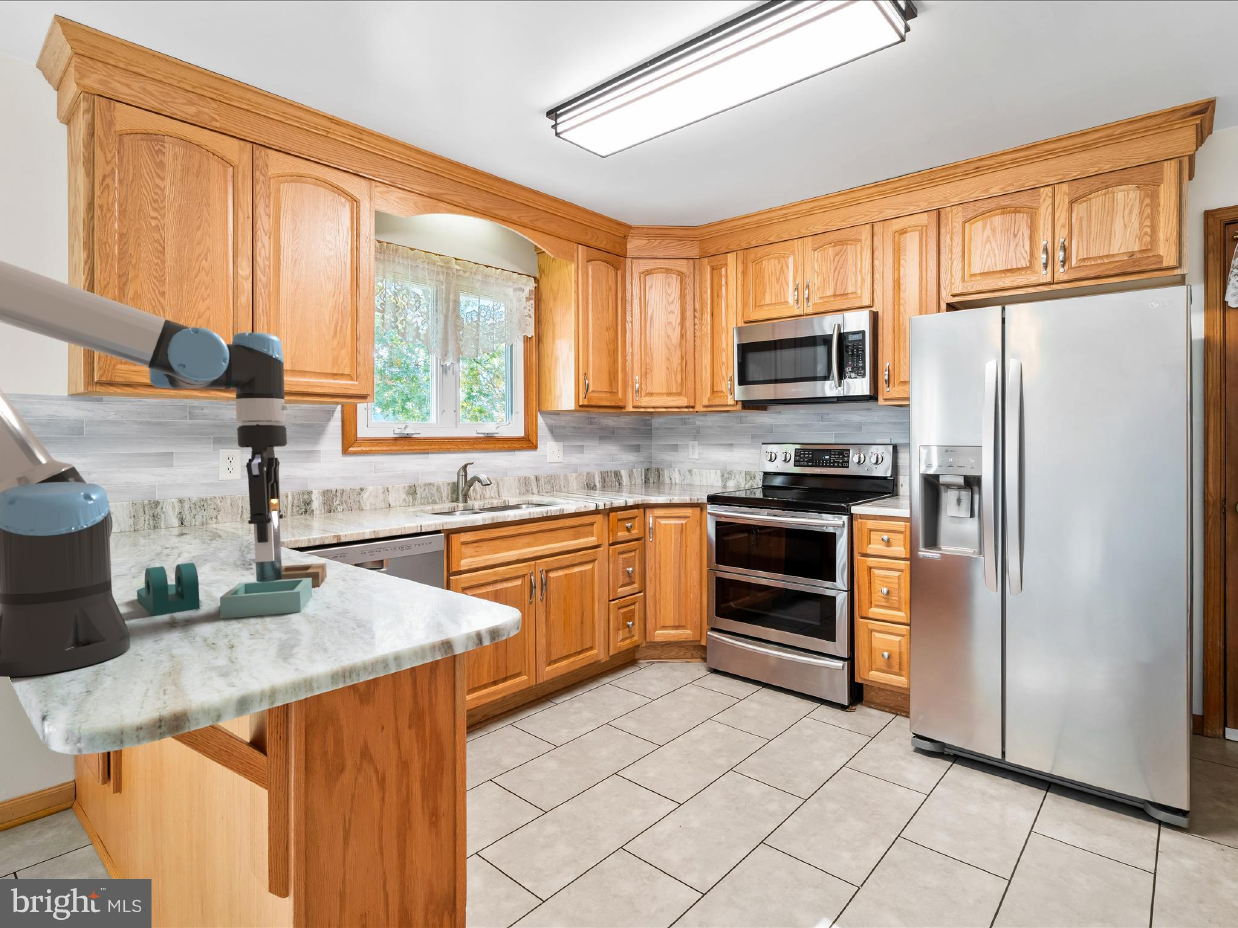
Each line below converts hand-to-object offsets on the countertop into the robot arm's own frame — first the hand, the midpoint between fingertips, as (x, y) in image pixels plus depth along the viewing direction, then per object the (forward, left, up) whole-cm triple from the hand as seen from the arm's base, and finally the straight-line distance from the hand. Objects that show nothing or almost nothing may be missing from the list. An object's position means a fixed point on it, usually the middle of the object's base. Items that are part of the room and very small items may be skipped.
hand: (268, 558), depth 118 cm
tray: (0, 0, -8) cm, 8 cm away
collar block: (+20, -1, -8) cm, 22 cm away
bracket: (+10, +19, -9) cm, 23 cm away
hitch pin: (0, 0, -4) cm, 4 cm away
